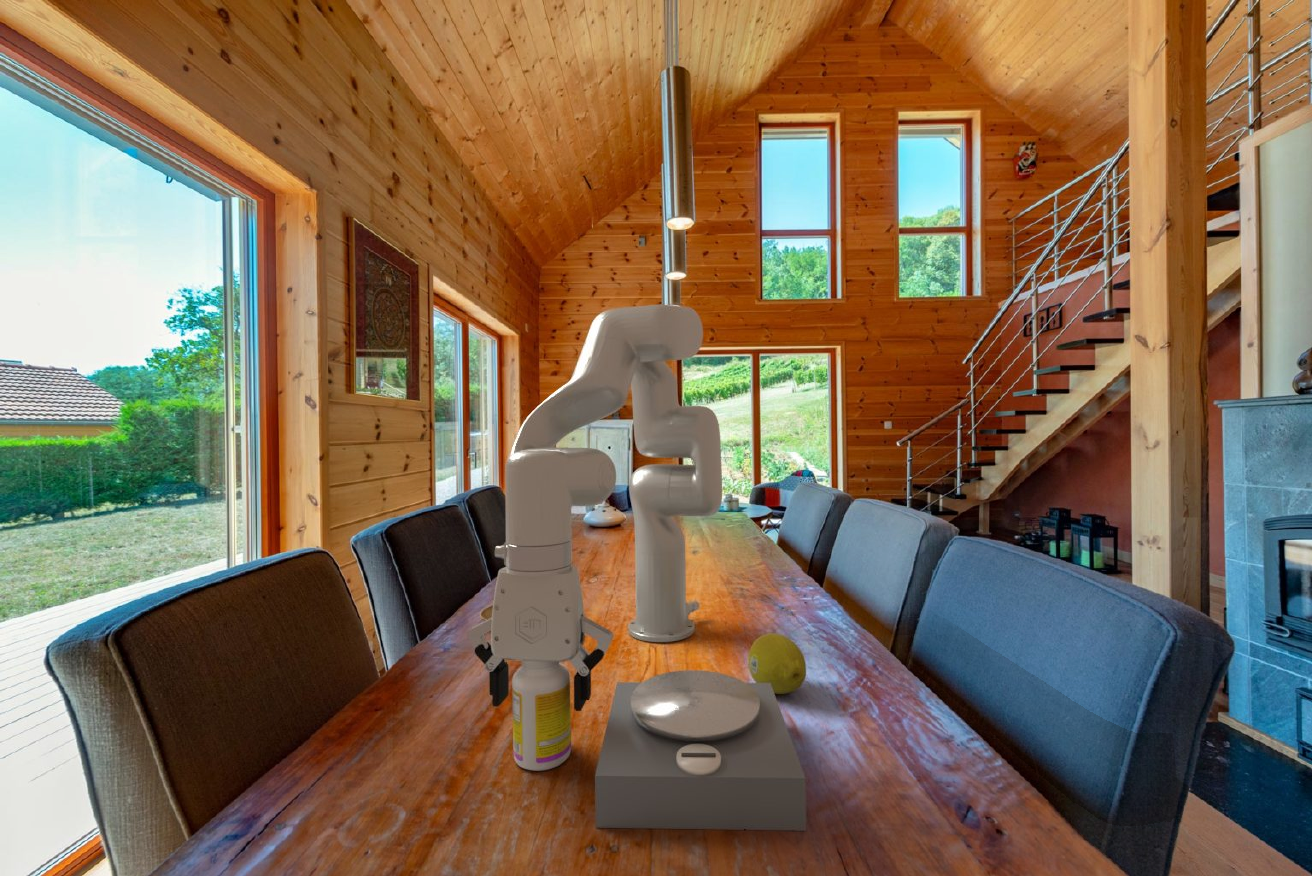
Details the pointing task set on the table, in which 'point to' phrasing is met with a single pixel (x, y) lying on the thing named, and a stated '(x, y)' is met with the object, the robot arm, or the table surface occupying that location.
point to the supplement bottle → (541, 715)
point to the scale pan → (695, 705)
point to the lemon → (777, 663)
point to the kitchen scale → (699, 775)
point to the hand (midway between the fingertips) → (540, 703)
